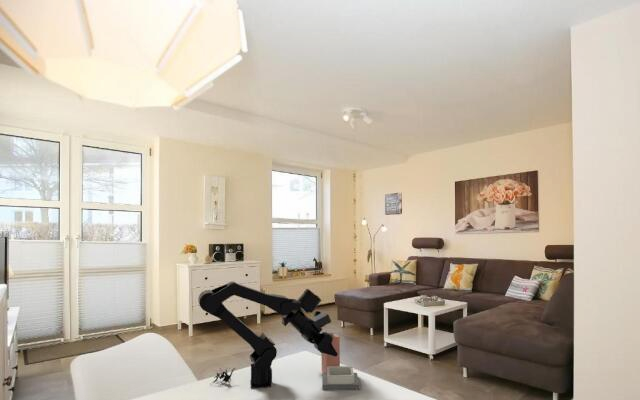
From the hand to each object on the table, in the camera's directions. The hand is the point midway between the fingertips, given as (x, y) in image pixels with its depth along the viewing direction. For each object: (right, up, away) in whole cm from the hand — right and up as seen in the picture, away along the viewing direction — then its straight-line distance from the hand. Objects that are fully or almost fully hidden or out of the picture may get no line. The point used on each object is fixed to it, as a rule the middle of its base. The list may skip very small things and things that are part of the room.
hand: (331, 351), depth 137 cm
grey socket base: (+3, -7, -10) cm, 12 cm away
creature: (-37, -8, -8) cm, 39 cm away
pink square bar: (0, -7, -1) cm, 8 cm away
